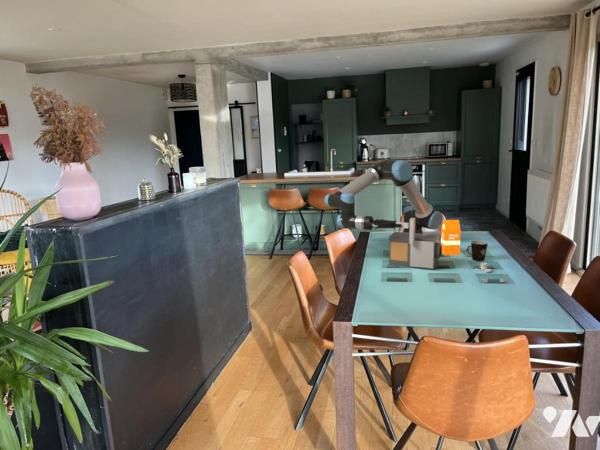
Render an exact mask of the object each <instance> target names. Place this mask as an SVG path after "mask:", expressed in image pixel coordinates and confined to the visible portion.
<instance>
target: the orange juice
mask: <svg viewBox="0 0 600 450" xmlns="http://www.w3.org/2000/svg"><path fill="white" fill-rule="evenodd" d="M441 225H442V226H441V230H440V231H441V236H440V237H441V238H440V243H441V244H442V255H444V256H459V255H460V246H461V232H462V231H461V225H460V220H459V219H444V220H443V221H442V224H441ZM456 254H457V255H456ZM458 254H459V255H458Z"/></svg>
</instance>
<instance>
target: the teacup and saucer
mask: <svg viewBox="0 0 600 450" xmlns="http://www.w3.org/2000/svg"><path fill="white" fill-rule="evenodd" d="M477 268H478V267H477ZM477 268H475V271H477ZM480 268H481V269H480V270H481V271H482V270H483V271H482V272H484V273H486V272H487V273H492V272H493V270H492V269H491V268H489V269H487V268H488V263H487V262H485V261H481V262H480ZM477 272H478V271H477Z"/></svg>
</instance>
